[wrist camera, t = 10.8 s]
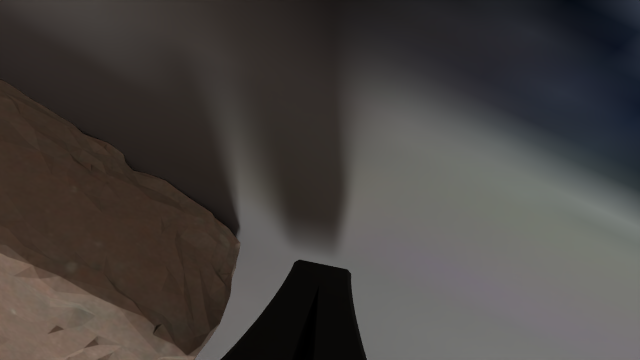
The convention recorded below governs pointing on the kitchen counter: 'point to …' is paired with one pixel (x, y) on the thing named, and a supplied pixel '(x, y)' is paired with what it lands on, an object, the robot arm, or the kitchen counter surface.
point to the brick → (99, 249)
